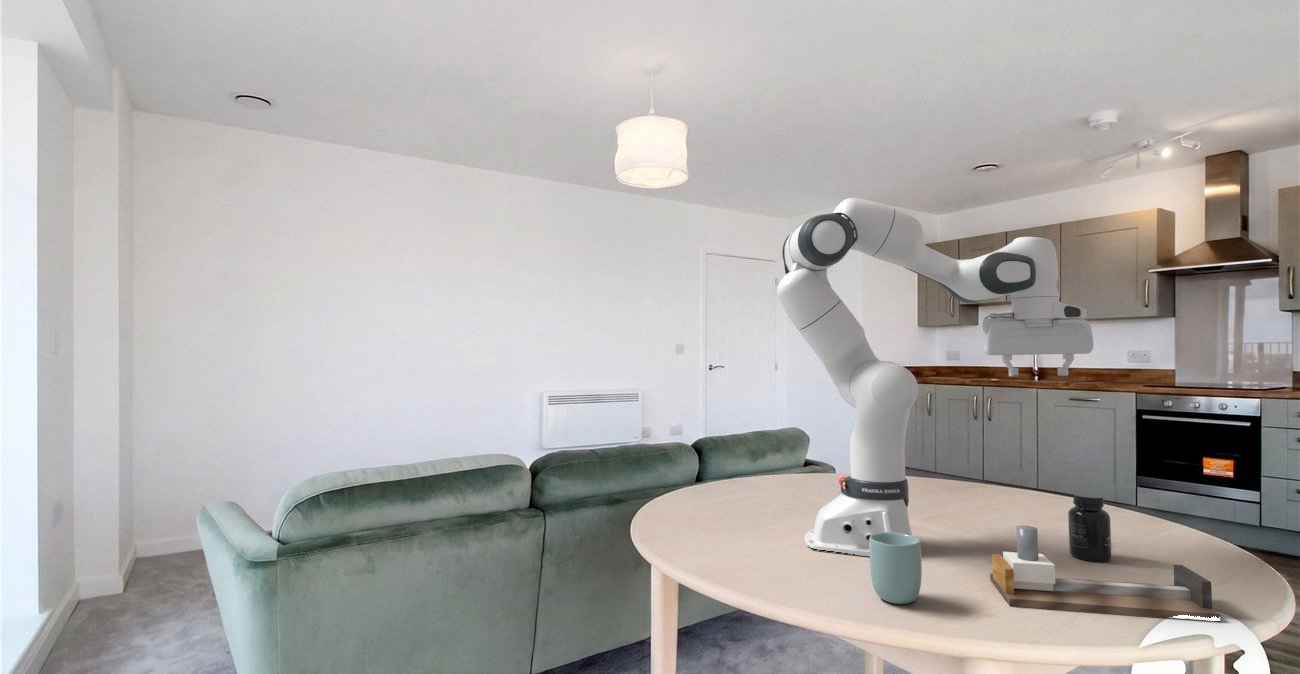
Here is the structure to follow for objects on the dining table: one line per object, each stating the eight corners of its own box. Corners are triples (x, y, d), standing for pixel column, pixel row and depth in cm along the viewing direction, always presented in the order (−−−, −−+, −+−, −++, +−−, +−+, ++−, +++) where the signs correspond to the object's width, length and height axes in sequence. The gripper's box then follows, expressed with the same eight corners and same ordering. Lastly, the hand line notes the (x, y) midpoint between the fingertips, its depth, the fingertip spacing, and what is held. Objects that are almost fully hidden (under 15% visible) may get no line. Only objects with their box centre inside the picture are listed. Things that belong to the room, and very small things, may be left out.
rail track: (1009, 606, 100) (1008, 573, 101) (990, 580, 112) (989, 550, 112) (1221, 622, 93) (1219, 586, 93) (1176, 592, 105) (1175, 561, 105)
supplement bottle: (1119, 563, 120) (1116, 499, 120) (1079, 562, 121) (1076, 498, 121) (1101, 552, 126) (1098, 492, 127) (1063, 551, 128) (1061, 491, 128)
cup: (896, 612, 99) (894, 547, 99) (861, 595, 106) (859, 535, 106) (933, 604, 102) (931, 541, 102) (896, 588, 109) (894, 529, 109)
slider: (1014, 590, 103) (1012, 531, 103) (1003, 578, 109) (1001, 522, 109) (1055, 593, 101) (1053, 533, 102) (1043, 580, 107) (1040, 524, 108)
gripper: (986, 312, 136) (988, 377, 135) (1095, 309, 131) (1098, 376, 130) (978, 314, 142) (981, 376, 142) (1082, 311, 137) (1085, 375, 136)
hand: (1038, 376), depth 136 cm, fingers open, 8 cm apart
